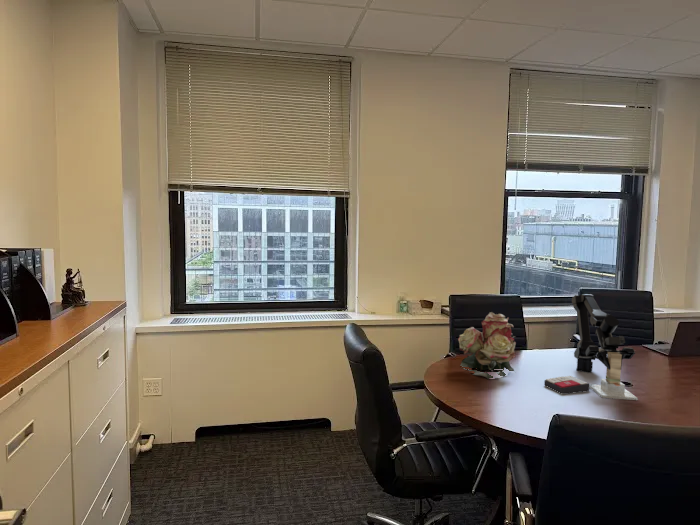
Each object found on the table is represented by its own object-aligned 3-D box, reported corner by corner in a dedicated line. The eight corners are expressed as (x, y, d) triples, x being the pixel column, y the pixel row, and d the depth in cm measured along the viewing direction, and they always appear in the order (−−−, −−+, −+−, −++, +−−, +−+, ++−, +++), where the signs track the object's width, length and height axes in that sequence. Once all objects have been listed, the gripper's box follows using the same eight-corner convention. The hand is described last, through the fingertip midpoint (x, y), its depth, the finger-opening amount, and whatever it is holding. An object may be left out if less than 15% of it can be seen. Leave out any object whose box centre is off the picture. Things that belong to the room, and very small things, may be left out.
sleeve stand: (588, 386, 198) (589, 374, 198) (621, 388, 196) (622, 376, 196) (601, 397, 185) (602, 385, 184) (637, 400, 183) (638, 387, 182)
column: (605, 380, 193) (607, 351, 192) (615, 380, 192) (617, 352, 191) (609, 383, 188) (611, 354, 188) (620, 384, 188) (622, 354, 187)
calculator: (544, 378, 198) (570, 374, 203) (543, 387, 199) (570, 383, 203) (562, 386, 188) (589, 382, 192) (562, 396, 188) (589, 391, 193)
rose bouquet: (450, 366, 225) (452, 309, 223) (497, 362, 234) (500, 307, 232) (480, 382, 201) (483, 318, 198) (531, 377, 210) (534, 316, 208)
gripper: (589, 327, 194) (598, 359, 184) (634, 330, 191) (646, 362, 181) (581, 340, 202) (589, 371, 192) (624, 343, 200) (635, 374, 189)
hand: (615, 369), depth 188 cm, fingers closed on column, 4 cm apart
